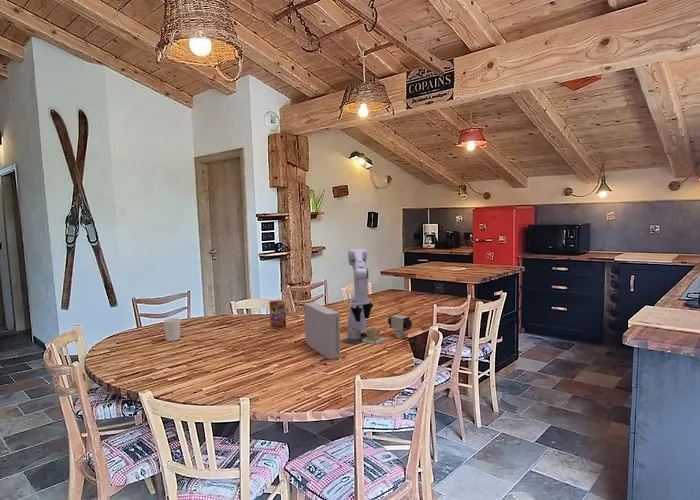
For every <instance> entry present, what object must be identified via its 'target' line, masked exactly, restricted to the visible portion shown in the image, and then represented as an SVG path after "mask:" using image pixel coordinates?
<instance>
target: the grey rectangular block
mask: <svg viewBox="0 0 700 500" xmlns="http://www.w3.org/2000/svg"><path fill="white" fill-rule="evenodd" d="M347 329H348V328H347ZM346 331H347V338H348V340H352V341H357V340H359V339H361V334H360V333H361V332H360V329H358V328H351V329H348V330H346Z"/></svg>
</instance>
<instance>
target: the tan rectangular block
mask: <svg viewBox="0 0 700 500" xmlns="http://www.w3.org/2000/svg"><path fill="white" fill-rule="evenodd" d="M366 333H367V340H368V341H374V342H376V341H379V340H380V338H381V336H380V333H381V332H380V328H376V327H370V328H368V329H367V331H366Z"/></svg>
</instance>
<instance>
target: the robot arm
mask: <svg viewBox="0 0 700 500" xmlns="http://www.w3.org/2000/svg"><path fill="white" fill-rule="evenodd" d="M367 252H368V251H367V248H366V247H364V248H348V249H347V255H348V256H347V258H348V264H349V265H350V266H352V270H353V286H354V287H353V288H354V289H353V290H354V291H353V292H354V295H353V296H352V297H351V298H350V300H349V314H348V315H347V316H348V317H347V330H348V329H351V328H358V329H360V333H362V332H367V329H369V328H367V320H368V319H369V318H370V314H371V312H372V309H373V307H374V304H373V299H372V298H369V296H368V295H369V291H368V287H369V286H368V284H369V283H368V280H369V277H370V276H369V274H370V273H369V269H368V267H367V264H366V263H367V259H368V253H367ZM349 265H348V266H349ZM347 330H346V331H347Z"/></svg>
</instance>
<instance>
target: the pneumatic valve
mask: <svg viewBox="0 0 700 500" xmlns="http://www.w3.org/2000/svg"><path fill="white" fill-rule="evenodd" d="M387 323H388V326H389V328H390V329H393V330H395V331H394V337H395V338H398V339H405V338H406V333H405V332H406V331H409V330H411V328H412V325H413V322H412V320H411V319H410V316H406V315H402V314H400V313H399V314H393V315H392V314H391V315H390V316H389V318H388V320H387Z"/></svg>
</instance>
